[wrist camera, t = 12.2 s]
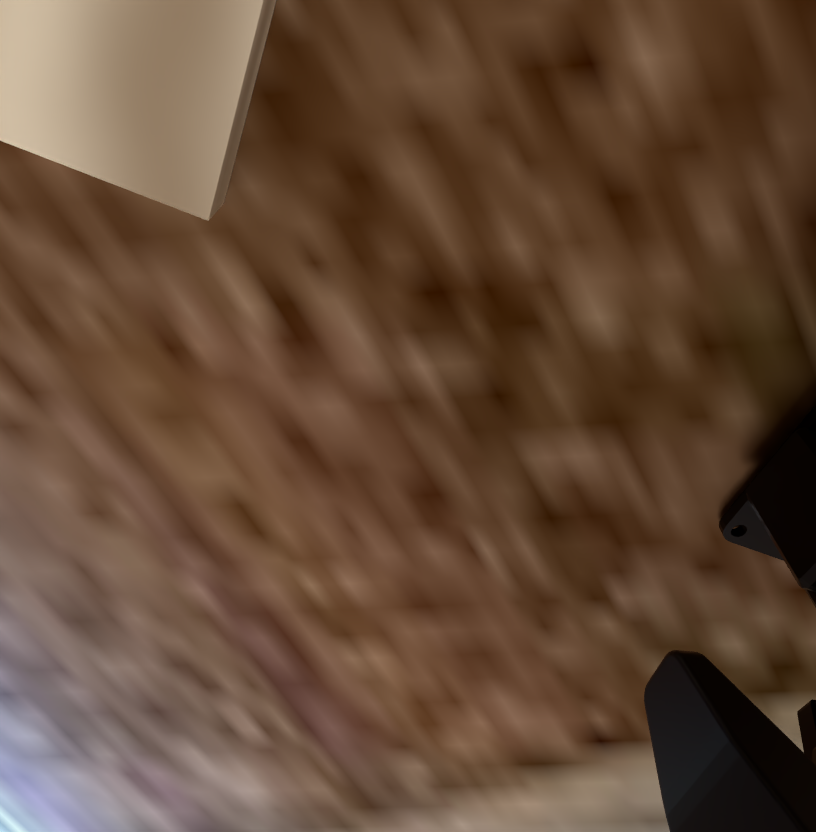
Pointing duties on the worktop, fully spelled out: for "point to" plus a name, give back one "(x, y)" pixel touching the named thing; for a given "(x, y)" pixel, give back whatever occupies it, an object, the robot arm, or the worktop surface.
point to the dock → (134, 90)
